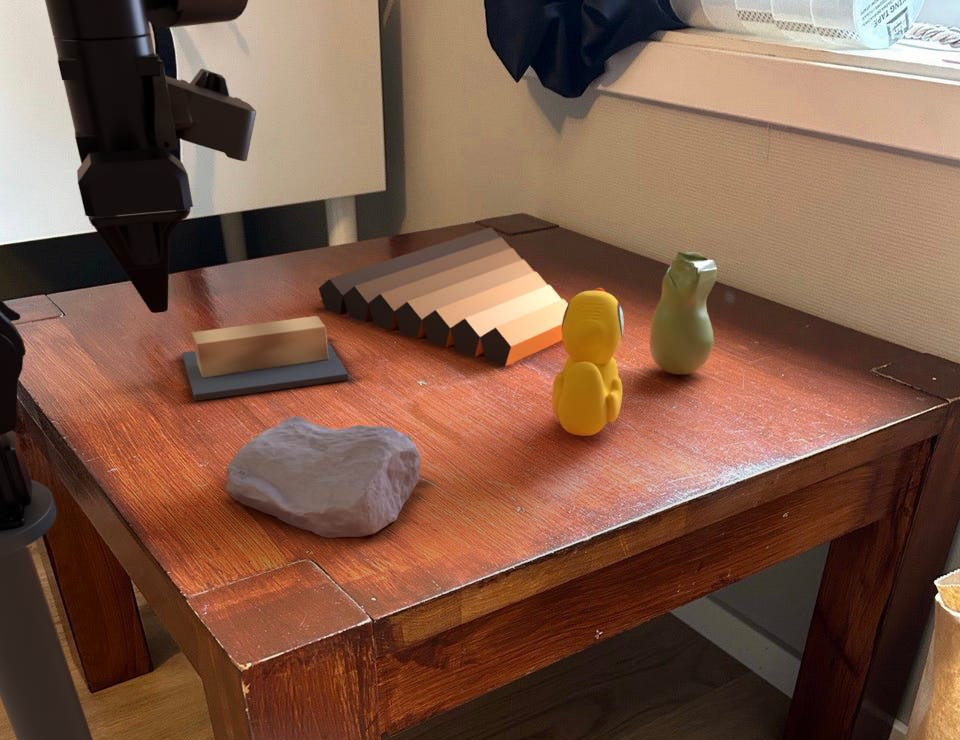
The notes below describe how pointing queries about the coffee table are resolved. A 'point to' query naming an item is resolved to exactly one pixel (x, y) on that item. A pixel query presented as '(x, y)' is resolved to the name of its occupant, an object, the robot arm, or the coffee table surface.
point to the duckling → (589, 364)
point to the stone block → (326, 476)
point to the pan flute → (456, 298)
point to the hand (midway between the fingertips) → (154, 291)
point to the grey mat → (263, 377)
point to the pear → (684, 315)
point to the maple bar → (260, 346)
